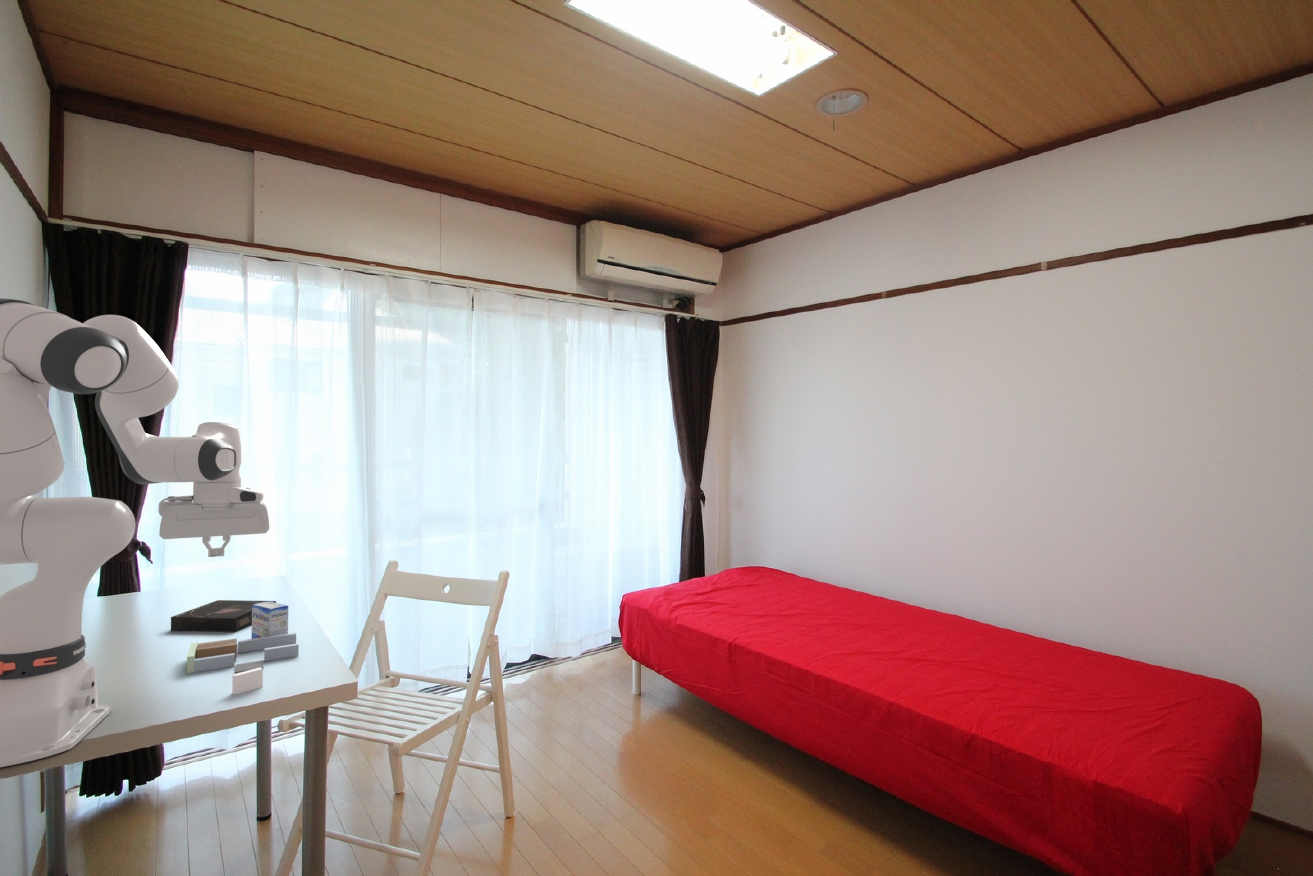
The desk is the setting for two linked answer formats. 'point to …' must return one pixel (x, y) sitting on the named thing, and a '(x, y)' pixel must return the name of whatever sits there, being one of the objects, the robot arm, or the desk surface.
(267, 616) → the medicine box
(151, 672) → the desk surface
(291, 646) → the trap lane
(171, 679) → the desk surface
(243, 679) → the eraser
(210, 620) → the portable cd player
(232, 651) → the walnut block
